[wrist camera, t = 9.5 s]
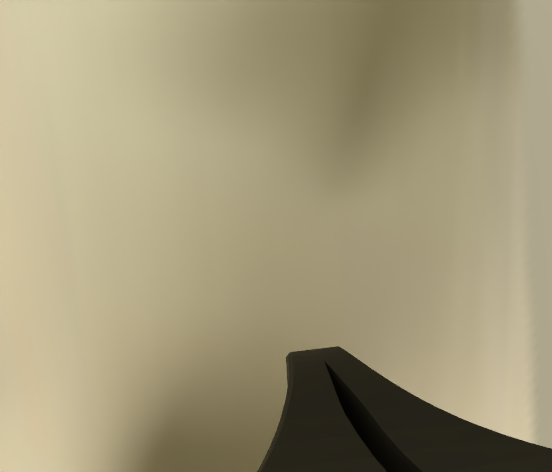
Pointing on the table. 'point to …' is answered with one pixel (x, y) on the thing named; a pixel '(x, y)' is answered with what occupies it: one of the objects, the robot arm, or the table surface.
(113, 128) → the table surface
